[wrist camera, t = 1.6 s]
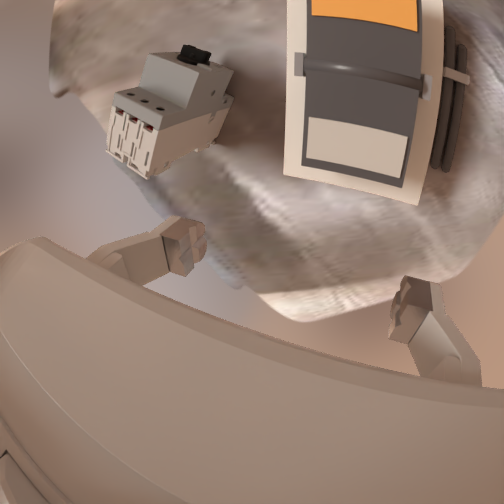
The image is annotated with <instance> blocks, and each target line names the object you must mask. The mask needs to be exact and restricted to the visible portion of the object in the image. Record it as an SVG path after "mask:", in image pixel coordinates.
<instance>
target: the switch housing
mask: <svg viewBox="0 0 504 504" xmlns="http://www.w3.org/2000/svg"><path fill="white" fill-rule="evenodd" d="M421 3H422V61H421V76H420V77H422V91H421V93H420V94H419V97H418V105H417V113H416V120H415V127H414V133H413V139H412V144H411V150H410V155H409V160H408V164H407V169H406V174H405V178H404V182H403V186H402V188H399V187H395V186H391V185H388V184H384V183H380V182H376V181H372V180H368V179H363V178H359V177H355V176H350V175H346V174H341V173H337V172H332V171H327V170H322V169H317V168H311V167H306V166H301V160H302V145H303V128H304V109H305V85H306V73H305V72H304V68H303V62H304V58H305V57H306V46H307V0H287V83H286V120H285V147H284V170H283V175H287V176H293V177H298V178H304V179H309V180H314V181H319V182H324V183H329V184H333V185H338V186H342V187H347V188H351V189H356V190H360V191H364V192H368V193H372V194H376V195H380V196H384V197H388V198H391V199H395V200H399V201H402V202H406V203H409V204H413V205H416V206H418V202H419V199H420V195H421V192H422V188H423V184H424V180H425V177H426V173H427V168H428V164H429V160H430V155H431V150H432V145H433V140H434V135H435V129H436V124H437V117H438V110H439V103H440V95H441V85H442V73H443V56H444V17H443V1H442V0H421Z"/></svg>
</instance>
